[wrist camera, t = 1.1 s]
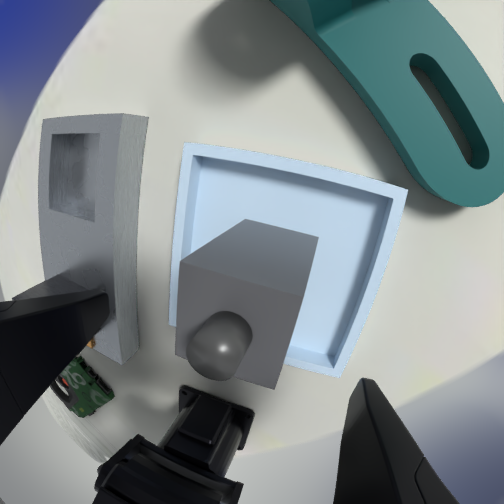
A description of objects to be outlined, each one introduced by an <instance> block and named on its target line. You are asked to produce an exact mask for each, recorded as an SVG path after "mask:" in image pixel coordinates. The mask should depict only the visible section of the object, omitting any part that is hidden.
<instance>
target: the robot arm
mask: <svg viewBox="0 0 504 504" xmlns="http://www.w3.org/2000/svg"><path fill="white" fill-rule="evenodd" d="M109 314H110V307H109V296H108V293H107V292H105V291H103V290H100V289H94V290H87V291H80V292H73V293H66V294H58V295H51V296H44V297H36V298H29V299H21V300H13V301H5V302H0V445H1V444H2V443H3V442H4V440H5V439H6V438H7V436H8V435H9V434H10V433H11V431H12V430H13V429H14V428H15V427H16V425H17V424H18V423H19V422H20V420H21V419H22V418H23V417H24V415H25V414H26V413H27V412H28V410H29V409H30V408H31V407H32V406H33V405H34V403H35V402H36V401H37V400H38V399H39V398H40V396H41V395H42V394H43V393H44V392H45V391H46V389H47V388H48V387H49V386H50V385H51V384H52V383H53V382H54V380H55V379H56V378H57V377H58V376H59V375H60V374H61V373H62V371H63V370H64V369H65V368H66V367H67V366H68V365H69V364H70V363H71V362H72V360H73V359H74V358H75V357H76V356H77V355H78V354H79V353H80V352H81V351H82V350H83V349H84V348H85V346H86V345H87V344H88V343H89V342H90V340H91V339H92V338H93V336H94V335H95V334H96V332H97V331H98V330H99V329H100V327H101V326H102V325H103V323H104V322H105V321H106V320H107V318H108V317H109ZM254 416H255V413H254V412H253V411H252V410H250V409H247V408H244V407H241V406H238V405H235V404H232V403H229V402H226V401H223V400H221V399H218V398H215V397H212V396H210V395H207V394H205V393H202V392H200V391H197V390H195V389H192V388H190V387H187V386H182V387H181V388H180V390H179V415H178V417H177V418H176V420H175V421H174V423H173V424H172V426H171V427H170V429H169V430H168V432H167V433H166V434H165V436H164V437H163V439H162V440H161V442H160V443H159V445H158V446H156V445H154V444H153V443H151V442H149V441H147V440H146V439H144V437H143V436H141V435H139V434H137V435H136V436H135V437H134V438H133V439H130V440H129V441H128V442H127V443H126V444H125V445H124V446H123V447H122V448H121V449H120V450H119V451H118V452H117V453H116V454H114V455H113V456H112V457H111V458H110V459H109V460H108V461H107V462H105V463H104V464H102V465H100V466H99V467H98V469H97V472H98V477H97V480H96V482H95V487H94V489H95V491H97V492H98V493H97V495H96V497H95V499H94V501H93V503H92V504H238V500H239V497H240V494H241V491H242V488H243V485H244V484H243V483H241V482H238V481H237V482H235V481H232V480H229V479H227V478H224V477H225V475H226V472H227V470H228V468H229V466H230V464H231V461H232V459H233V457H234V455H235V452H236V450H243V448H244V446H245V443H246V440H247V437H248V434H249V431H250V428H251V425H252V422H253V419H254ZM220 501H221V502H220ZM0 504H5V503H4V502H3V501H2V499H1V498H0ZM333 504H459V502H458V501H457V500H456V499H455V497H454V496H453V495H452V494H451V492H450V491H449V490H448V489H447V487H446V486H445V485H444V484H443V482H442V481H441V479H440V478H439V477H438V475H437V474H436V472H435V471H434V469H433V468H432V467H431V465H430V463H429V462H428V460H427V459H426V457H424V454H423V453H422V451H421V450H420V448H419V447H418V445H417V443H416V442H415V441H414V439H413V437H412V436H411V434H410V433H409V431H408V430H407V428H406V427H405V425H404V424H403V422H402V421H401V419H400V418H399V416H398V415H397V413H396V412H395V410H394V409H393V407H392V406H391V404H390V403H389V401H388V400H387V398H386V397H385V395H384V394H383V392H382V391H381V389H380V388H379V387H378V385H377V384H376V382H375V381H374V380H372V379H367V378H361V379H360V380H359V382H358V384H357V386H356V387H355V389H354V391H353V393H352V394H351V397H350V399H349V404H348V409H347V414H346V420H345V425H344V429H343V434H342V440H341V446H340V456H339V465H338V473H337V481H336V488H335V495H334V502H333Z"/></svg>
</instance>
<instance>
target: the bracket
mask: <svg viewBox="0 0 504 504" xmlns="http://www.w3.org/2000/svg"><path fill="white" fill-rule="evenodd" d="M270 1H271V2H272V3H273V4H275V5H276V6H277V7H278V8H279V9H280V10H281V11H282V12H283V13H285V14H286V15H287V16H288V17H289V18H290V19H291V20H292V21H293V22H294V23H295V24H296V25H297V26H298V27H299V28H300V29H301V30H302V31H303V32H304V33H305V34H306V35H307V36H308V37H309V38H310V39H311V40H312V41H313V42H314V43H315V44H316V45H317V46H318V47H319V48H320V50H321V51H322V52H323V53H324V54H325V55H326V56H327V57H328V58H329V60H330V61H331V62H332V63H333V64H334V65H335V66H336V68H337V69H338V70H339V71H340V72H341V74H342V75H343V76H344V77H345V78H346V80H347V81H348V82H349V83H350V85H351V86H352V87H353V89H354V90H355V91H356V92H357V94H358V95H359V96H360V98H361V99H362V100H363V102H364V103H365V104H366V106H367V107H368V109H369V110H370V111H371V113H372V114H373V116H374V117H375V118H376V120H377V121H378V123H379V124H380V126H381V127H382V129H383V130H384V132H385V133H386V135H387V136H388V138H389V140H390V141H391V143H392V144H393V146H394V147H395V149H396V151H397V152H398V154H399V156H400V157H401V159H402V161H403V162H404V164H405V166H406V168H407V169H408V171H409V172H410V174H411V175H412V177H413V178H414V179H415V180H416V181H417V182H418V183H419V184H420V185H421V186H422V187H423V188H424V189H425V190H427V191H428V192H429V193H431V194H433V195H434V196H437V197H439V198H441V199H444V200H447V201H449V202H452V203H454V204H457V205H460V206H465V207H479V206H483V205H486V204H489V203H491V202H493V201H494V200H496V199H497V198H498V197H499V196H500V195H502V194H503V192H504V103H503V101H502V99H501V98H500V96H499V94H498V92H497V90H496V89H495V87H494V85H493V84H492V82H491V80H490V79H489V77H488V76H487V74H486V72H485V71H484V69H483V68H482V66H481V65H480V63H479V62H478V60H477V59H476V58H475V56H474V55H473V53H472V52H471V51H470V49H469V48H468V46H467V45H466V44H465V43H464V41H463V40H462V39H461V37H460V36H459V35H458V34H457V32H456V31H455V30H454V29H453V27H452V26H451V25H450V24H449V23H448V22H447V20H446V19H445V18H444V17H443V16H442V15H441V14H440V13H439V11H438V10H437V9H436V8H435V7H434V6H433V5H432V4H431V3H430V2H429V1H428V0H270ZM410 66H416V67H419V68H420V69H422V70H423V71H424V72H425V73H426V74H427V76H428V77H429V79H430V80H431V81H432V83H433V84H434V86H435V87H436V89H437V90H438V92H439V93H440V95H441V96H442V98H443V99H444V101H445V102H446V104H447V105H448V107H449V109H450V110H451V112H452V114H453V115H454V117H455V119H456V120H457V122H458V124H459V126H460V128H461V129H462V131H463V133H464V135H465V137H466V139H467V141H468V142H469V144H470V146H471V149H472V161H471V163H470V164H469V165H468V164H467V162H466V161H465V159H464V157H463V155H462V153H461V151H460V149H459V147H458V145H457V143H456V141H455V139H454V138H453V136H452V134H451V132H450V130H449V129H448V127H447V125H446V124H445V122H444V120H443V118H442V117H441V115H440V114H439V112H438V110H437V109H436V107H435V106H434V104H433V103H432V101H431V99H430V98H429V96H428V95H427V94H426V92H425V91H424V89H423V88H422V86H421V85H420V83H419V82H418V81H417V79H416V78H415V77H414V75H413V74H412V72H411V70H410Z"/></svg>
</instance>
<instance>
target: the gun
mask: <svg viewBox="0 0 504 504" xmlns="http://www.w3.org/2000/svg"><path fill="white" fill-rule="evenodd" d="M83 360H84V359H83V358H82V357H81V356H80V357H79V358H77V357H75V358H74V359H73V360H72V362H71V363H70V364H69V365H68V366H67V367H66V368H65V369H64V370H63V371H62V373H61V374H60V375H59V376H58V377H57V378H56V379H55V380H56V381H57V382H58V383H59V384H60V385H61V386H63V387H64V388H65V389H66V391H67V392H68V394H69V396H68V395H66V394H65V393H64V392H63V391H62V390H61V389H60V388H59V386H58V385H57V383H56V381H55V380H54V382H53V383H52V384H51V385H50V387H51V389H52V390H53V392H54V393H55V394H56V395H57V396H58V398H59V399H60V400H61V401H62V402H64V404H65V405H66V407H67V408H68V409H69V410H70V411H73V412H74V413H75V414H76V415H77V416H78V417H82V418H84V417H86V416H87V415H89V416H91V415H92V414H94V412H96V411H95V410H96V409H97V408H99V407H101V406H103V405H104V404H106V403H107V402H109V401H110V400H112V399H113V398H114V397H115V396H114V393H113V391H111V390H112V389H110V390H109V389H108V388H107V387H106V386H105V385H104V384H103V382H102V381H101V380H100V378H101V377H100V378H99V379H98V380H97V381H96V380H95V379H94V378H95V377H96V376H97V375H98V374H97V375H96V376H95V375H94V374H93V373H92V372H91V369H92V368H91V367H90V366H88V367H86V366H85V364H84V363H83ZM110 391H111V392H110Z"/></svg>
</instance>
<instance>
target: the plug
mask: <svg viewBox="0 0 504 504" xmlns="http://www.w3.org/2000/svg"><path fill="white" fill-rule="evenodd" d="M318 239H319V237H317V236H313V235H309V234H305V233H301V232H297V231H293V230H289V229H285V228H281V227H277V226H273V225H269V224H265V223H261V222H257V221H253V220H249V219H244V220H243V221H241V222H240V223H238V224H236V225H235V226H233V227H232V228H230V229H229V230H227V231H225V232H224V233H222V234H221V235H219V236H218V237H216V238H214V239H213V240H211V241H210V242H208V243H207V244H205V245H204V246H202V247H200V248H199V249H197V250H196V251H194V252H193V253H191V254H190V255H188V256H187V257H185V258H184V259H182V260H181V261H180V264H179V278H178V294H177V314H176V343H175V355H177V356H180V357H182V358H185V359H187V360H188V362H189V363H190V365H191V366H192V367H193V368H194V370H196V371H197V372H198V373H199V374H201V375H202V376H204V377H206V378H208V379H211V380H216V381H224V380H227V379H230V378H231V377H236V378H239V379H242V380H245V381H248V382H251V383H254V384H257V385H260V386H264V387H267V388H270V389H275V386H276V384H277V381H278V378H279V375H280V372H281V369H282V366H283V363H284V360H285V357H286V354H287V350H288V347H289V344H290V341H291V338H292V335H293V331H294V328H295V325H296V322H297V318H298V315H299V311H300V308H301V305H302V301H303V298H304V294H305V290H306V287H307V283H308V279H309V275H310V271H311V267H312V263H313V259H314V255H315V251H316V247H317V243H318Z"/></svg>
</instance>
